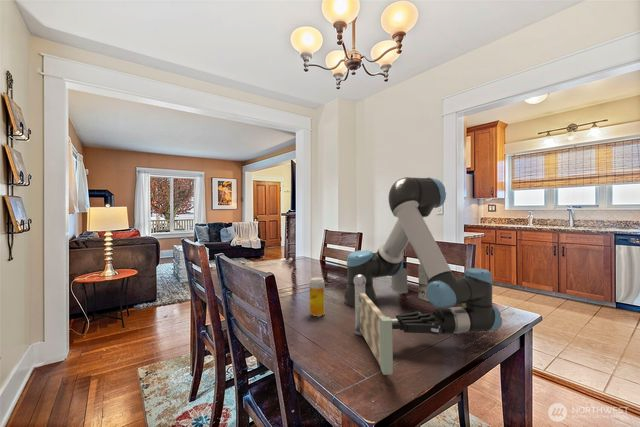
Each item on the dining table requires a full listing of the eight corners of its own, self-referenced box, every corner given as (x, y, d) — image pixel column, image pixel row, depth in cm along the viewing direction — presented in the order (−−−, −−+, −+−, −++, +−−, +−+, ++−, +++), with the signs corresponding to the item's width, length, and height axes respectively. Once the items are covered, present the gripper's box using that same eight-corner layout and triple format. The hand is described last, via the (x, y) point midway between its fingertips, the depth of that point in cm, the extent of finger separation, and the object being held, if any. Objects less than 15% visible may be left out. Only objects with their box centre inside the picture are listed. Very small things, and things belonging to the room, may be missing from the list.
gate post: (352, 330, 102) (351, 273, 102) (365, 329, 102) (364, 272, 102) (355, 336, 97) (354, 276, 97) (368, 335, 98) (368, 275, 97)
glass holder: (398, 294, 143) (397, 264, 142) (381, 287, 156) (381, 260, 155) (412, 292, 146) (411, 263, 146) (394, 285, 159) (394, 258, 159)
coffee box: (428, 301, 131) (428, 266, 130) (418, 298, 137) (417, 264, 136) (442, 298, 135) (442, 264, 135) (431, 295, 141) (431, 262, 140)
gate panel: (358, 329, 98) (357, 290, 98) (365, 329, 98) (364, 290, 98) (383, 374, 71) (382, 320, 71) (392, 374, 72) (392, 320, 71)
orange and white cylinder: (309, 312, 120) (309, 277, 120) (324, 311, 121) (323, 276, 121) (310, 318, 114) (309, 280, 114) (325, 317, 115) (324, 280, 114)
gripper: (462, 341, 83) (384, 347, 81) (439, 323, 96) (371, 328, 94) (462, 316, 83) (383, 321, 81) (439, 301, 96) (370, 305, 94)
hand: (377, 325), depth 87 cm, fingers closed
